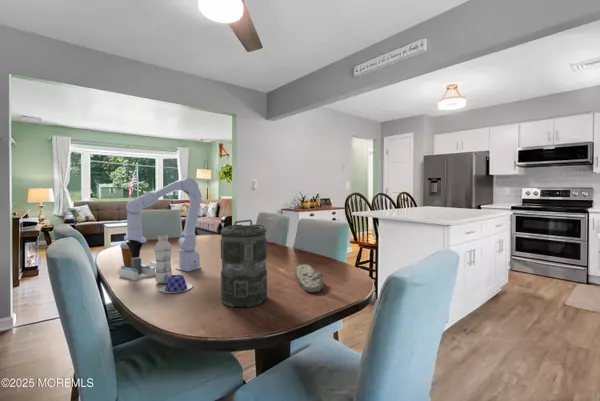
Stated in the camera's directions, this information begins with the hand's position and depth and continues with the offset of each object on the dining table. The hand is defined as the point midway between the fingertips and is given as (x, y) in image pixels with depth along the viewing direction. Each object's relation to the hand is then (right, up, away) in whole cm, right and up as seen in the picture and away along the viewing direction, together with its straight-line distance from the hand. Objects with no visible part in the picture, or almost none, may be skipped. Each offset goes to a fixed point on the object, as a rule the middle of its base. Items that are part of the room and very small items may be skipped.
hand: (135, 257), depth 137 cm
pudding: (+25, -10, -17) cm, 32 cm away
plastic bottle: (+17, -9, -10) cm, 22 cm away
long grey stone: (+77, -9, -7) cm, 78 cm away
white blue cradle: (+2, -8, +4) cm, 9 cm away
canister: (+54, -10, -30) cm, 63 cm away
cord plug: (0, -7, 0) cm, 8 cm away
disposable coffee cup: (-12, -8, +18) cm, 23 cm away
